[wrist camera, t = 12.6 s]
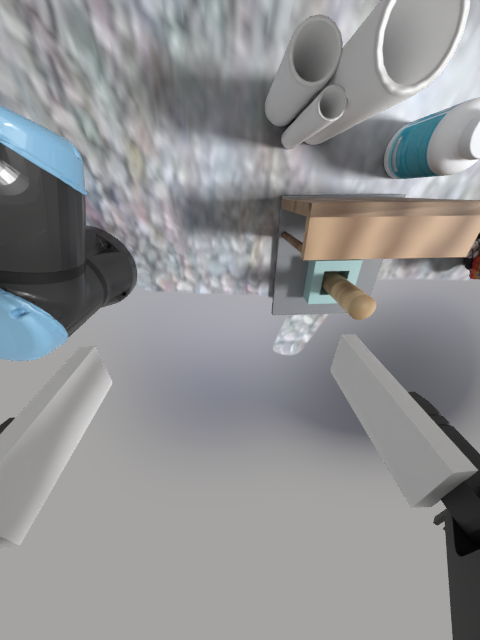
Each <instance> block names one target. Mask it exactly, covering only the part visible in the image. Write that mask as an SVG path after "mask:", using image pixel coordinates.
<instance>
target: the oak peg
mask: <svg viewBox="0 0 480 640" xmlns="http://www.w3.org/2000/svg"><path fill="white" fill-rule="evenodd" d="M321 287H322V288H323V289H324V290H325V291H326V292H327V293H328V294H329V295H330V296H331V297H332V298H333V299H334V300H335V301H336V302H337V303H338V304H339V305H340V306H341V307H342V308H343V309H344V310H345V311H346V312H347V313H348V314H349V315H350V316H351V317H352V318H353V319H356V320H361V319H365V318H367V317H369V316H370V315H371V314H372V313H373V312H374V310H375V308H376V302H375V300H374V299H373V298H371V297H370V296H369V295H367V294H366V293H364V292H363V291H362V290H360V289H359V288H358V287H356V286H355V285H354V284H352V283H351V282H350V281H348V280H347V279H345V278H344V277H343V276H341V275H340V274H339V273H337V272H336V271H324V275H323V280H322V285H321Z"/></svg>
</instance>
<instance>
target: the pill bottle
mask: <svg viewBox="0 0 480 640" xmlns="http://www.w3.org/2000/svg"><path fill="white" fill-rule="evenodd" d="M479 159H480V98H475V99H471V100H468V101H465V102H463V103H460V104H458V105H455V106H452V107H450V108H447V109H445V110H442V111H439V112H437V113H434V114H431V115H429V116H426V117H424V118H421V119H418V120H416V121H413V122H411V123H408V124H407V125H405V126H403V127H402V128H401V129H400V130H398V131H397V132H396V134H395V135H394V136H393V137H392V139H391V140H390V142H389V144H388V146H387V148H386V151H385V155H384V167H385V170H386V172H387V174H388V175H389V176H390V177H392V178H395V179H408V178H420V177H432V176H444V175H453V174H456V173H459V172H461V171H463V170H465V169H467V168H469V167H470V166H472V165H473V164H474V163H475V162H476V161H478V160H479Z"/></svg>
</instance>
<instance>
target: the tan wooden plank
mask: <svg viewBox="0 0 480 640" xmlns="http://www.w3.org/2000/svg"><path fill="white" fill-rule="evenodd" d="M282 209H285V210H288V211H291V212H294V213H297V214H300V215H304V216H307V218H306V225H305V232H304V239H303V243H302V242H301V241H299V240H298V239H296V238H295V237H293V236H292V235H290V234H289V233H287V232H286V231H285V232H283V233H282V238H284V239H285V240H286V241H287V242H288V243H290V244H291V245H292V246H293V247H294V248H296V249H297V250H298V251H299V252H300V253H301V259H303V260H346V259H395V258H444V257H466V256H467V254H468V252H469V251H470V249H471V247H472V245H473V243H474V242H475V240H476V238H477V236H478V234H479V233H480V200H452V199H424V198H325V199H283V200H282Z"/></svg>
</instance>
